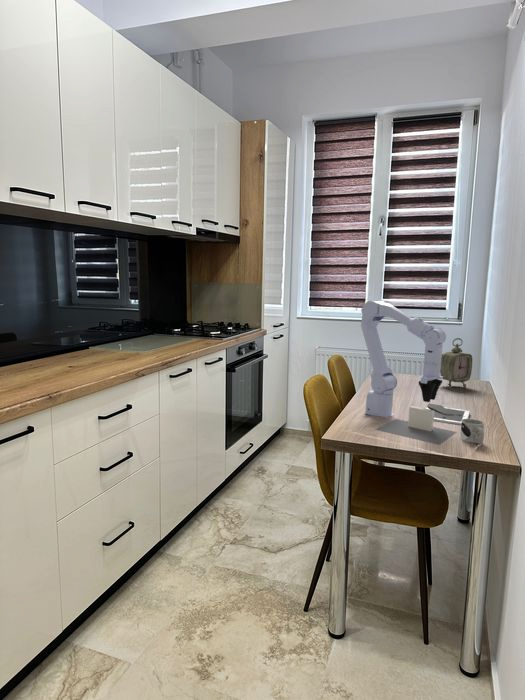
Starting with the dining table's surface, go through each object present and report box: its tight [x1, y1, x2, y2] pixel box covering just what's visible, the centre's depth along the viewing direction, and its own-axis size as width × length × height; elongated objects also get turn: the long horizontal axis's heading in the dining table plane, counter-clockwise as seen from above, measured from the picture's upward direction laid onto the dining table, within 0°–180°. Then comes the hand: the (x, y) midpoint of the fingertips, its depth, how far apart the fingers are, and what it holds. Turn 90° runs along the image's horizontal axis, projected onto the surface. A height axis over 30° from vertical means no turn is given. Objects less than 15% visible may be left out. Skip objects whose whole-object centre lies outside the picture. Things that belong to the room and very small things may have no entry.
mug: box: [459, 418, 485, 445], centre depth 155 cm, size 10×7×7 cm
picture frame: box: [425, 402, 471, 426], centre depth 185 cm, size 16×3×21 cm
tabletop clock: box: [440, 337, 473, 389], centre depth 240 cm, size 14×9×25 cm, turn 118°
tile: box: [407, 405, 435, 431], centre depth 166 cm, size 8×2×7 cm, turn 51°
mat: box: [374, 418, 458, 446], centre depth 164 cm, size 22×18×1 cm
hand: (428, 400), depth 171 cm, fingers open, 4 cm apart
